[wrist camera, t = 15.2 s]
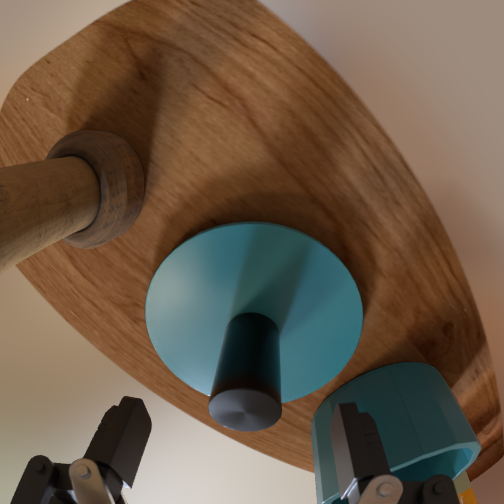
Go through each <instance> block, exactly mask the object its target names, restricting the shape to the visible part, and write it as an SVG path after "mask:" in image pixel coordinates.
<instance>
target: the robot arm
mask: <svg viewBox="0 0 504 504" xmlns="http://www.w3.org/2000/svg"><path fill="white" fill-rule="evenodd" d="M151 426H152V423H151V418H150V416H149V414H148V412H147V409H146V407H145V405H144V403H143V400H142V399H140V398H134V397H129V396H124V397H123V398H122V400H121V402H120V404H119V406H115V405H114V406H112V407H111V408H110V409H109V410H108V411H107V412H106V413H105V415H104V417H103V419H102V420H101V423H100V425H99V426H98V430H97V431H96V433H95V435H94V437H93V439H92V441H91V443H90V445H89V447H88V449H87V451H86V453H85V455H84V457H83V458H81V459H77V460H75V461H74V462H73V463H72V464H61V463H52V462H51V461H50V460H49V459H48V458H47V457H45V456H43V455H38V456H34V457H33V458H31V460H30V461H29V462H28V465H27V467H26V469H25V471H24V473H23V475H22V478H21V480H20V482H19V484H18V487H17V489H16V491H15V494H14V496H13V498H12V501H11V503H10V504H128V503H127V501H126V499H125V496H124V495H123V492H122V491H121V490H122V487H123V486H124V487H127V488H132V485H133V482H134V479H135V476H136V473H137V470H138V467H139V464H140V461H141V458H142V455H143V452H144V450H145V446H146V444H147V441H148V438H149V435H150V432H151V428H152V427H151ZM330 435H331V441H332V447H333V453H334V459H335V465H336V471H337V478H338V484H339V491H340V498H341V499H347V498H348V499H349V504H460V502H459V499H458V495H457V492H456V488H455V485H454V482H453V480H452V479H451V478H450V477H449V476H447V475H444V474H437V475H434V476H432V477H430V478H429V479H428V480H427V481H403V480H400V479H398V478H397V477H395V476H394V475H393V474H392V473H391V471H390V468H389V465H388V461H387V458H386V455H385V451H384V448H383V445H382V441H381V438H380V435H379V433H378V428H377V425H376V422H375V420H374V419H373V418H372V416H371V415H370V414H369V413H368V412H362V413H359V411H358V408H357V405H356V402H355V401H351V402H343V403H337V404H336V406H335V410H334V414H333V417H332V421H331V426H330Z"/></svg>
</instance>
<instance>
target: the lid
mask: <svg viewBox="0 0 504 504" xmlns="http://www.w3.org/2000/svg"><path fill="white" fill-rule="evenodd" d="M145 318H146V324H147V330H148V333H149V336H150V339H151V342H152V344H153V346H154V348H155V350H156V352H157V353H158V355H159V356H160V358H161V359H162V361H163V362H164V363H165V364H166V365H167V367H168V368H169V369H170V370H171V371H172V372H173V373H174V374H175V375H176V376H177V377H178V378H180V379H181V380H182V381H184V382H185V383H186V384H188V385H189V386H191V387H193V388H194V389H196V390H198V391H200V392H202V393H204V394H206V395H208V396H210V399H209V403H208V410H209V413H210V415H211V416H212V418H213V419H214V420H215V421H216V422H218V423H219V424H221V425H223V426H225V427H227V428H230V429H233V430H237V431H259V430H263V429H266V428H268V427H271V426H272V425H274V424H275V423H276V422H277V421H278V420H279V418H280V417H281V414H282V403H283V402H288V401H292V400H295V399H298V398H301V397H303V396H305V395H308V394H310V393H312V392H314V391H316V390H317V389H319V388H321V387H322V386H324V385H325V384H327V383H328V382H329V381H331V380H332V379H333V378H334V377H335V376H336V375H337V374H338V373H339V372H340V371H341V370H342V369H343V368H344V367H345V365H346V364H347V363H348V361H349V360H350V358H351V357H352V355H353V353H354V351H355V349H356V347H357V345H358V342H359V339H360V335H361V332H362V324H363V306H362V301H361V296H360V293H359V290H358V287H357V285H356V282H355V280H354V279H353V277H352V275H351V274H350V272H349V270H348V269H347V267H346V266H345V265H344V263H343V262H342V261H341V260H340V258H339V257H338V256H337V255H336V254H335V253H334V252H332V251H331V250H330V249H329V248H328V247H327V246H326V245H324V244H323V243H321V242H320V241H318V240H317V239H315V238H314V237H312V236H310V235H307V234H305V233H303V232H301V231H299V230H296V229H293V228H290V227H287V226H284V225H279V224H274V223H269V222H255V221H245V222H233V223H228V224H223V225H219V226H215V227H212V228H209V229H207V230H204V231H201V232H199V233H197V234H196V235H194V236H192V237H190V238H188V239H187V240H185V241H184V242H183V243H181V244H180V245H179V246H177V247H176V248H175V249H174V250H173V251H172V252H171V253H170V254H169V255H168V256H167V257H166V258H165V259H164V260H163V262H162V263H161V265H160V266H159V267H158V269H157V270H156V272H155V274H154V276H153V278H152V280H151V282H150V285H149V288H148V292H147V296H146V303H145Z"/></svg>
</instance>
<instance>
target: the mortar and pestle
mask: <svg viewBox="0 0 504 504" xmlns="http://www.w3.org/2000/svg"><path fill="white" fill-rule="evenodd" d="M143 197H144V174H143V170H142V166H141V163H140V160H139V158H138V156H137V154H136V152H135V151H134V149H133V148H132V146H131V145H130V144H129V143H128V142H127V141H126V140H124V139H123V138H122V137H120V136H118V135H116V134H114V133H111V132H107V131H88V130H84V131H76V132H73V133H70V134H68V135H66V136H64V137H63V138H61V139H60V140H59V141H58V142H57V143H56V144H55V145H54V146H53V148H52V149H51V150H50V152H49V153H48V155H47V157H46V159H45V160H42V161H36V162H30V163H25V164H19V165H14V166H8V167H3V168H0V274H1V273H3V272H5V271H6V270H8V269H9V268H11V267H12V266H14V265H16V264H17V263H19V262H21V261H22V260H24V259H26V258H27V257H29V256H31V255H33V254H34V253H36V252H38V251H40V250H42V249H43V248H45V247H47V246H49V245H51V244H53V243H55V242H57V241H59V240H60V239H62V240H63V241H65V242H66V243H68V244H70V245H72V246H74V247H77V248H82V249H92V248H97V247H100V246H102V245H104V244H106V243H107V242H109V241H111V240H112V239H114V238H116V237H118V236H119V235H121V234H122V233H124V232H125V231H126V230H127V229H128V228H129V227H130V226H131V225H132V224H133V223H134V221H135V220H136V218H137V216H138V214H139V212H140V209H141V206H142V202H143Z"/></svg>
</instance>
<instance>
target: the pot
mask: <svg viewBox="0 0 504 504" xmlns="http://www.w3.org/2000/svg"><path fill="white" fill-rule="evenodd" d="M351 401H355V402H356V405H357V408H358V411H359V413H362V412H368V413H369V414H370V415H371V416H372V418H373V419H374V420H375V422H376V425H377V428H378V433H379V435H380V438H381V441H382V445H383V448H384V451H385V455H386V458H387V461H388V465H389V468H390V471H391V473H392V474H393V475H394V476H395V477H397V478H398V479H400V480H403V481H427V480H428V479H429V478H430V477H432V476H434V475H437V474H444V475H447V476H449V477H450V478H451V479H452V480H455V479H456V478H457V477H459V476H460V475H461V474H462V473H463V472H464V471H465V470H466V469H467V468H468V467H469V466H470V465H471V464H472V463H473V462H474V461H475V460H476V458H477V456H478V454H479V452H480V450H481V448H482V446H481V444H480V442H479V440H478V438H477V436H476V434H475V432H474V430H473V429H472V427H471V425H470V423H469V421H468V419H467V417H466V415H465V414H464V412H463V410H462V408H461V406H460V405H459V403H458V401H457V399H456V398H455V396H454V394H453V392H452V391H451V389H450V387H449V386H448V384H447V382H446V381H445V379H444V378H443V377H442V376H441V374H440V372H439V371H438V370H437V369H436V368H435V367H433V366H431V365H429V364H426V363H421V362H402V363H396V364H391V365H387V366H384V367H380V368H378V369H375V370H372V371H370V372H367V373H365V374H363V375H361V376H359V377H357V378H355V379H353V380H351V381H349V382H348V383H346V384H345V385H343V386H342V387H340V388H339V389H337V390H336V391H335V392H333V393H332V394H331V395H330V396H329V397H328V398H327V399H326V400H325V401H324V402H323V403H322V404H321V405H320V407H319V408H318V409H317V411H316V413H315V415H314V417H313V420H312V431H311V439H312V449H313V459H314V470H315V482H316V495H317V504H349V499H348V498H347V499H341V498H340V491H339V484H338V478H337V471H336V465H335V459H334V453H333V447H332V441H331V435H330V426H331V421H332V417H333V414H334V410H335V406H336V404H337V403H343V402H351Z"/></svg>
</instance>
